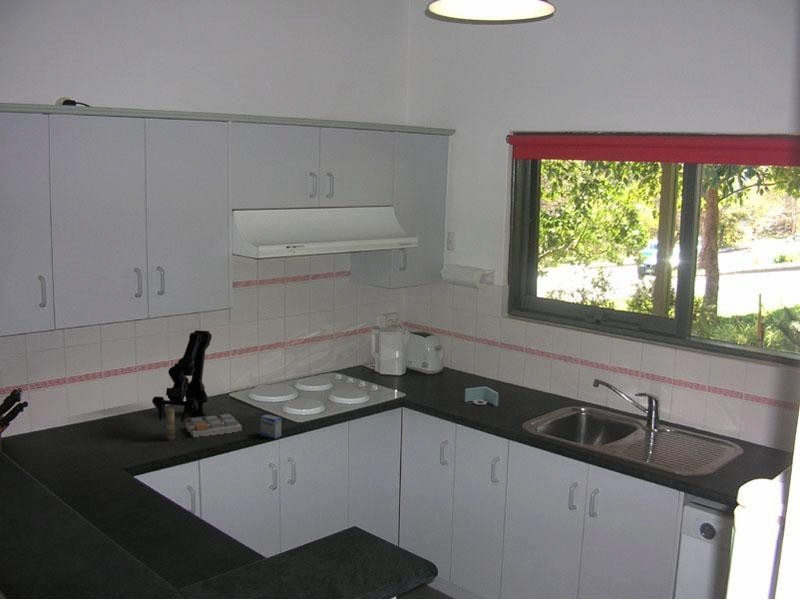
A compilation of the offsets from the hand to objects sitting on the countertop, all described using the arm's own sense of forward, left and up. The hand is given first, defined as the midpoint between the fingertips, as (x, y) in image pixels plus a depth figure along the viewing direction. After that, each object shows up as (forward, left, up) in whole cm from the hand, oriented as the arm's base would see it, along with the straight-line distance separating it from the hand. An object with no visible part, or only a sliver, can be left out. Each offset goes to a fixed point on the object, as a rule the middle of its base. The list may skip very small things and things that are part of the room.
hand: (170, 421), depth 348 cm
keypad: (-4, +19, -8) cm, 22 cm away
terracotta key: (-1, +13, -6) cm, 14 cm away
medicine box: (+12, +40, -8) cm, 43 cm away
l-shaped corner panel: (+10, +150, -9) cm, 150 cm away
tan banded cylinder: (0, 0, -8) cm, 8 cm away
